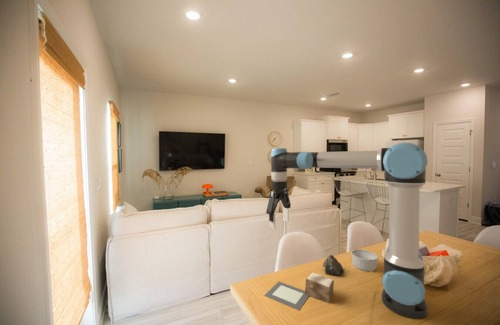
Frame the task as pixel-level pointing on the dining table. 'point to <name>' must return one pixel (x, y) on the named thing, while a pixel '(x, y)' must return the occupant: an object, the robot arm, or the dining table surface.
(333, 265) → the dark grey rock
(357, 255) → the ramekin
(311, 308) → the dining table surface
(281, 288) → the mat
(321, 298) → the card box
